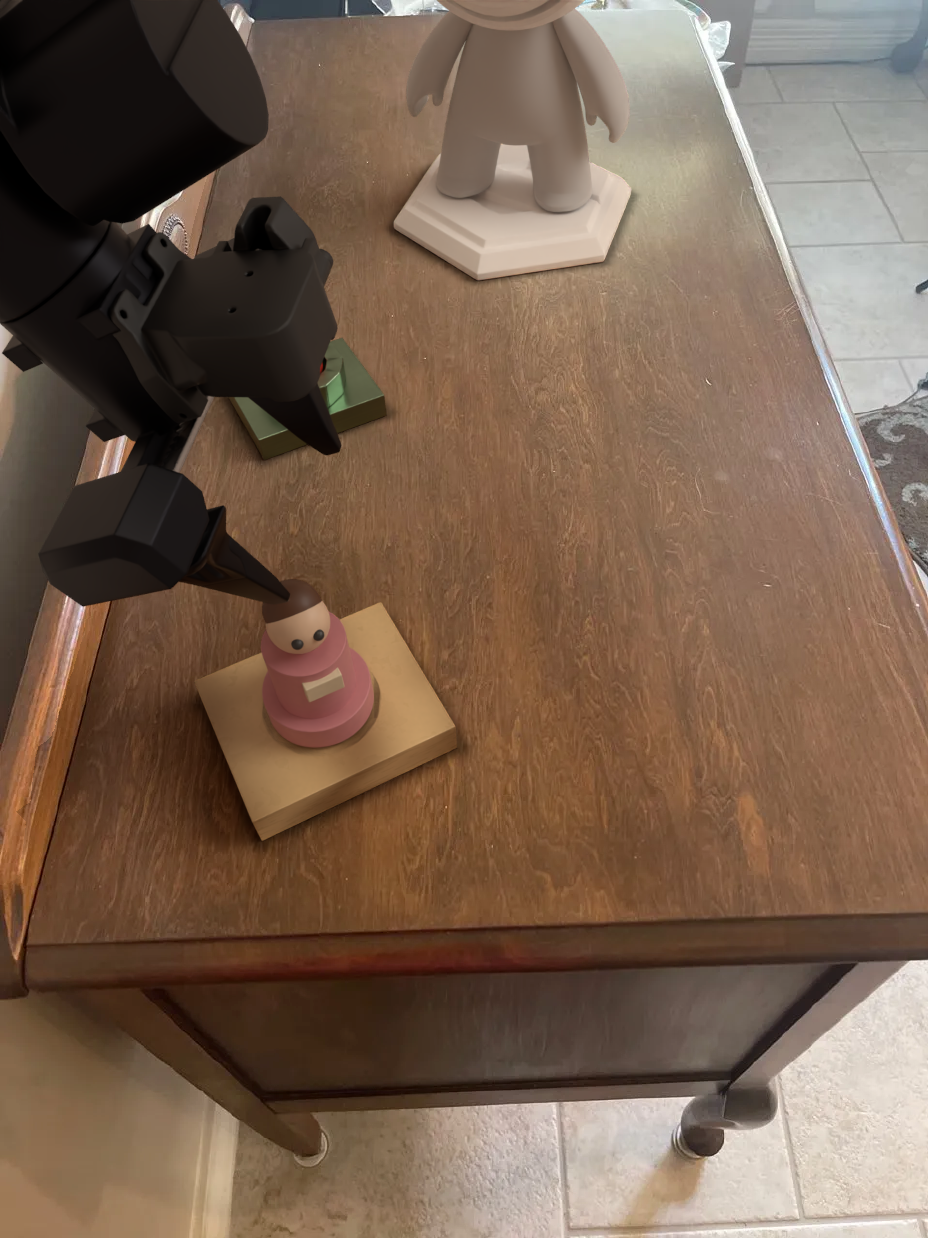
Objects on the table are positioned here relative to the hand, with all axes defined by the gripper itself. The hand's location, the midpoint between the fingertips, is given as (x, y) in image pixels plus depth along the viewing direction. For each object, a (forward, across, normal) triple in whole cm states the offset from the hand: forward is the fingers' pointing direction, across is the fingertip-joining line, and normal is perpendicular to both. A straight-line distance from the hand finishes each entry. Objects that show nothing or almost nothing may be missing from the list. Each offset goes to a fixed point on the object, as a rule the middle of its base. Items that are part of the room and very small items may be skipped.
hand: (309, 522), depth 45 cm
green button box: (+10, +22, +16) cm, 29 cm away
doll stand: (+12, -4, +7) cm, 15 cm away
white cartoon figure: (+17, +52, +7) cm, 55 cm away
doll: (+10, -4, +6) cm, 12 cm away
